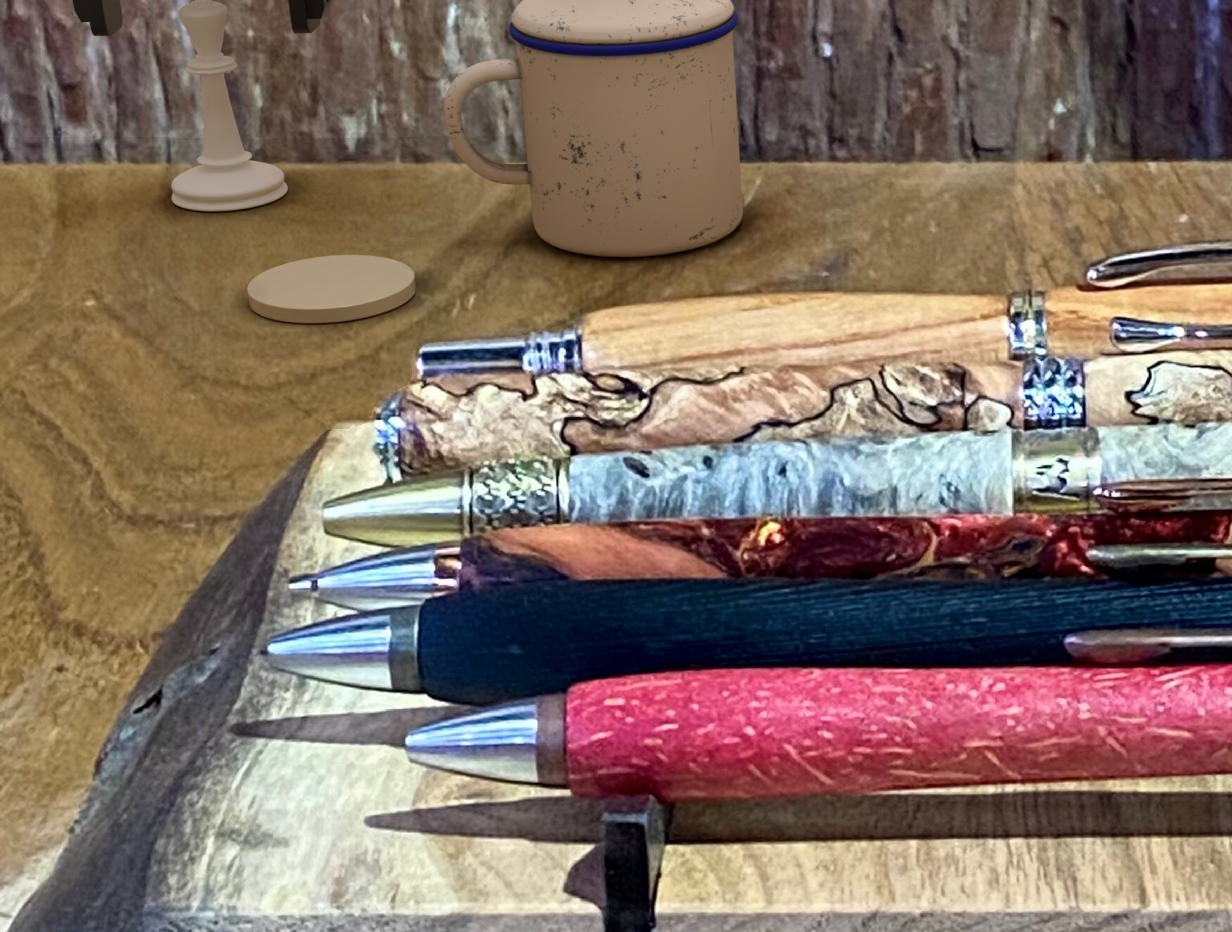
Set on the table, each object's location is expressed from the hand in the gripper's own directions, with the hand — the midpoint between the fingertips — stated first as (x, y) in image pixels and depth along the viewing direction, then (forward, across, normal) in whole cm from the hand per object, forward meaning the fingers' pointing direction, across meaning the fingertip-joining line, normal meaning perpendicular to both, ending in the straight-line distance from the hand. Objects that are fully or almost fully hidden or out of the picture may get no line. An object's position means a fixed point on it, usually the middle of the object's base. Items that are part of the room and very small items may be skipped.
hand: (208, 30), depth 114 cm
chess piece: (+7, 0, 0) cm, 7 cm away
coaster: (+7, +8, -14) cm, 17 cm away
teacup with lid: (+7, +17, -6) cm, 19 cm away
